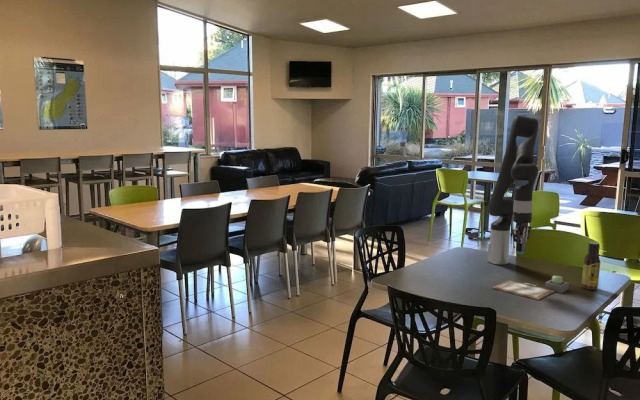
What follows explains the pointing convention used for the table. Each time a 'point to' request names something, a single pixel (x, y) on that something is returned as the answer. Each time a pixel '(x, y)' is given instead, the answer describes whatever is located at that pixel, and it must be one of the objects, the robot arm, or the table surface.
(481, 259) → the table surface
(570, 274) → the table surface
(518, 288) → the clipboard
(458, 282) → the table surface
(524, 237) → the cylinder
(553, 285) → the button housing
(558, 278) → the button
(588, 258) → the sauce bottle
